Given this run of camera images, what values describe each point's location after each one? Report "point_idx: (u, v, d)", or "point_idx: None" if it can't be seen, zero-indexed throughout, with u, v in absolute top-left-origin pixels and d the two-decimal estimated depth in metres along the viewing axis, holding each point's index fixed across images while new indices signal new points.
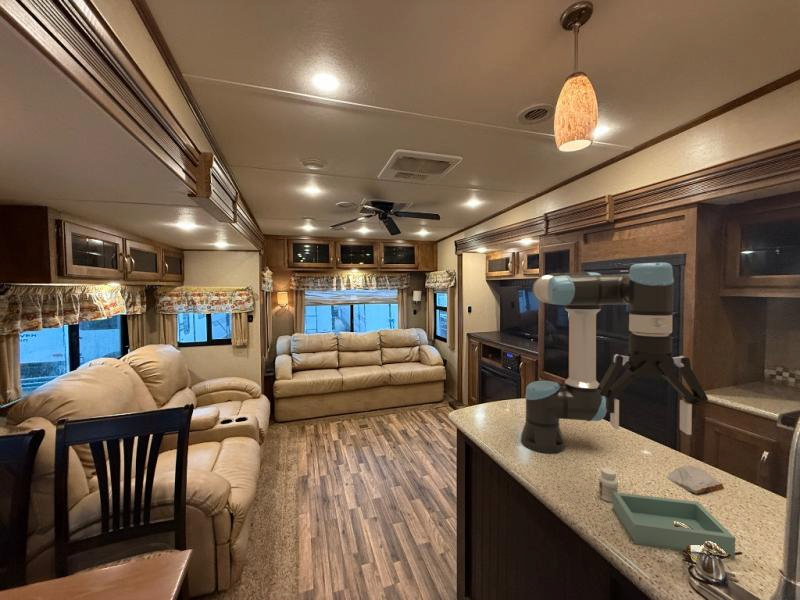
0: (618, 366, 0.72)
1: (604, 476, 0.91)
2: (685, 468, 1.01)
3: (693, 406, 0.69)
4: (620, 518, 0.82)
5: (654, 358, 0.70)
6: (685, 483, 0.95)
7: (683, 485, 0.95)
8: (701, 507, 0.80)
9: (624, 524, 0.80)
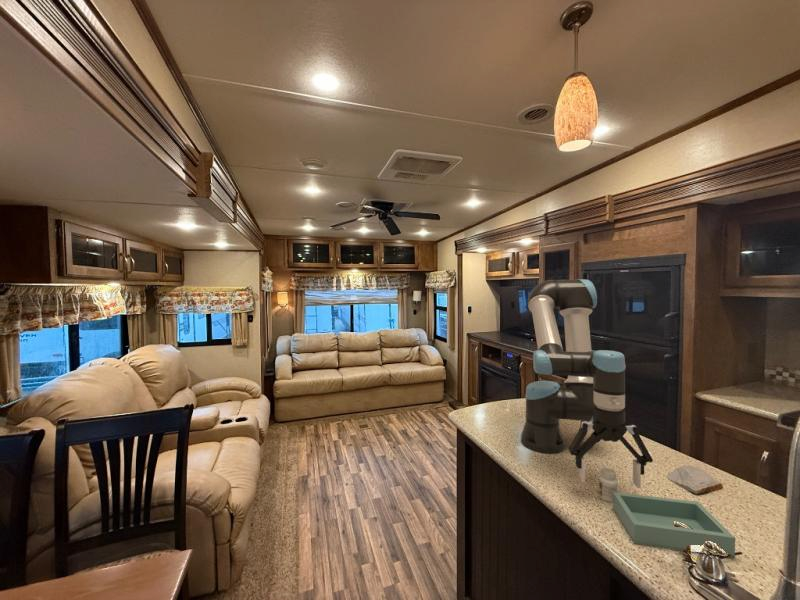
0: (584, 432, 0.91)
1: (604, 476, 0.91)
2: (684, 468, 1.01)
3: (642, 465, 0.88)
4: (620, 518, 0.82)
5: (611, 427, 0.90)
6: (685, 483, 0.95)
7: (683, 485, 0.95)
8: (701, 507, 0.80)
9: (624, 524, 0.80)
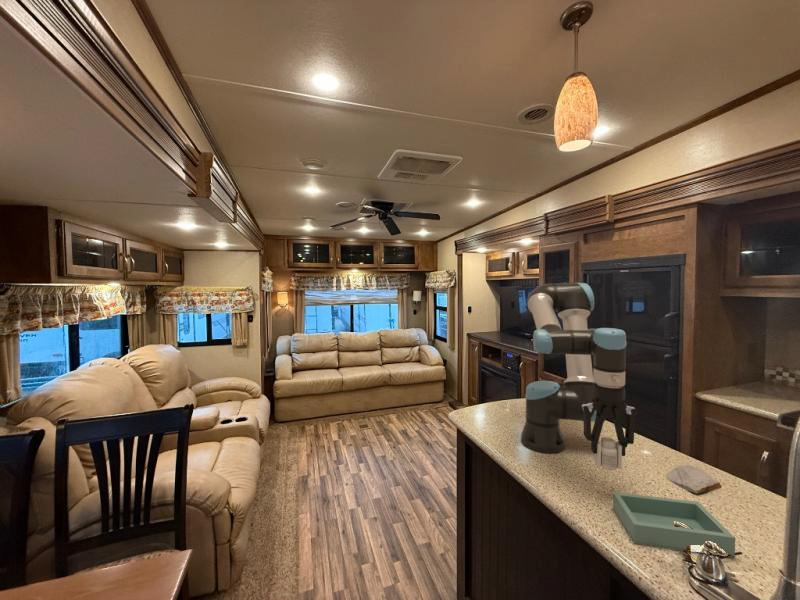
0: (588, 414, 0.91)
1: (603, 445, 0.91)
2: (683, 468, 1.01)
3: (623, 447, 0.90)
4: (620, 518, 0.82)
5: (611, 404, 0.90)
6: (685, 483, 0.95)
7: (683, 485, 0.95)
8: (701, 507, 0.80)
9: (624, 524, 0.80)
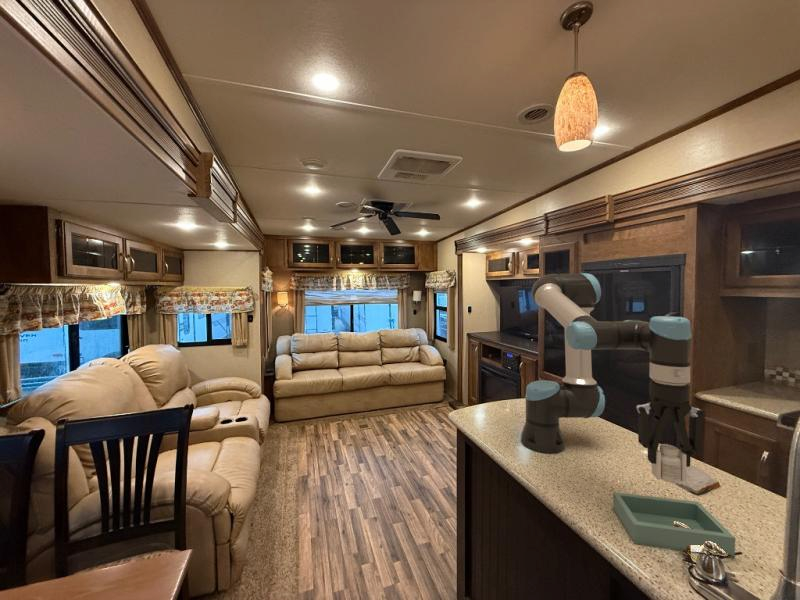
0: (645, 417, 0.78)
1: (664, 453, 0.77)
2: None
3: (688, 456, 0.77)
4: (620, 518, 0.82)
5: (673, 404, 0.77)
6: (685, 483, 0.95)
7: (683, 485, 0.95)
8: (701, 507, 0.80)
9: (624, 524, 0.80)
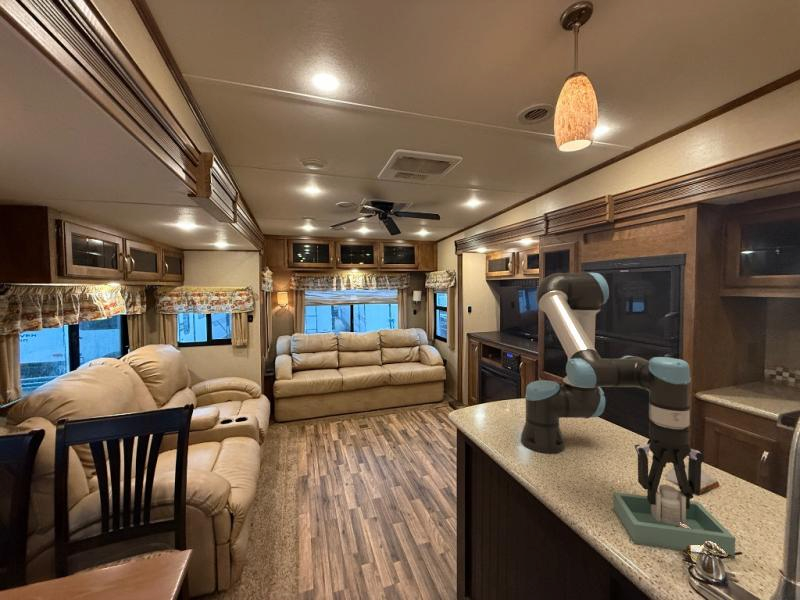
0: (644, 458, 0.78)
1: (663, 494, 0.78)
2: None
3: (687, 498, 0.77)
4: (620, 518, 0.82)
5: (673, 446, 0.77)
6: None
7: None
8: (701, 507, 0.80)
9: (624, 524, 0.80)
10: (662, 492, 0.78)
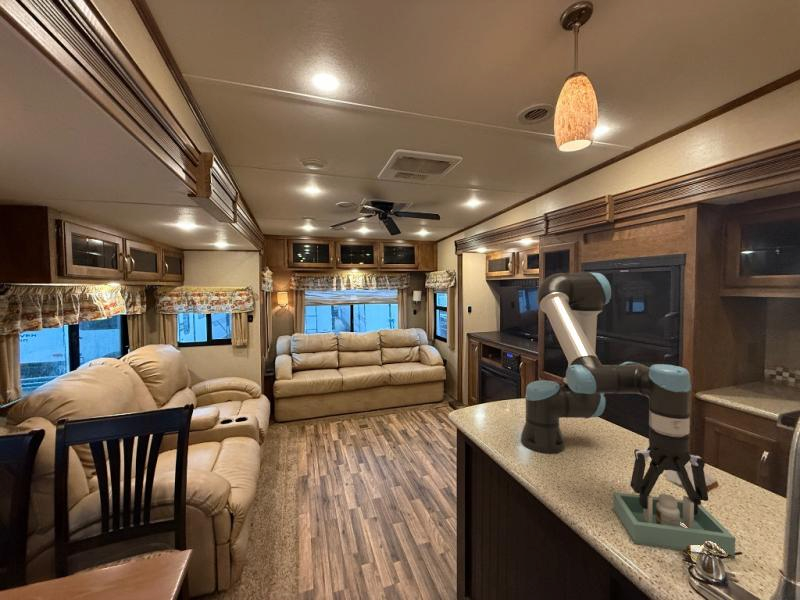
0: (642, 463, 0.78)
1: (663, 504, 0.78)
2: None
3: (695, 504, 0.77)
4: (620, 518, 0.82)
5: (672, 454, 0.77)
6: None
7: None
8: (701, 507, 0.80)
9: (624, 524, 0.80)
10: (662, 501, 0.78)
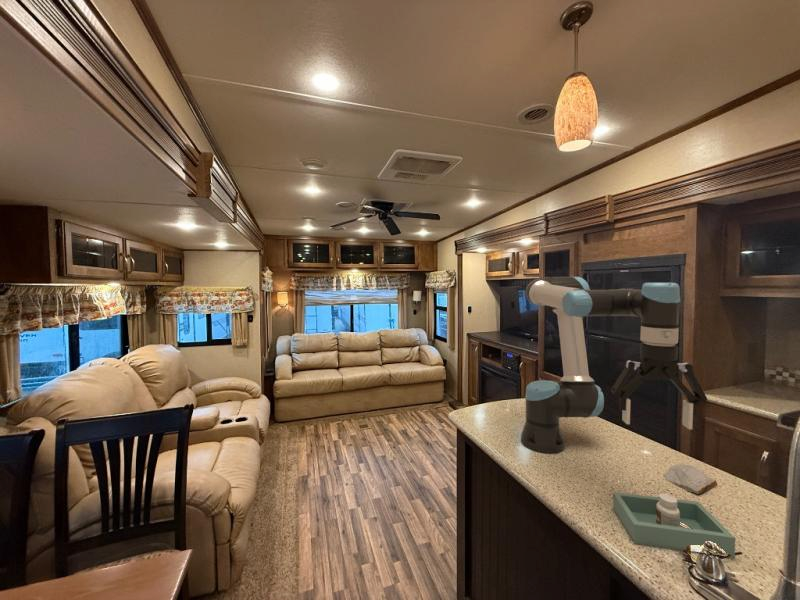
0: (630, 371, 0.83)
1: (663, 504, 0.78)
2: (679, 467, 1.01)
3: (694, 405, 0.81)
4: (620, 518, 0.82)
5: (662, 364, 0.82)
6: (685, 484, 0.95)
7: (683, 486, 0.95)
8: (701, 507, 0.80)
9: (624, 524, 0.80)
10: (662, 501, 0.78)
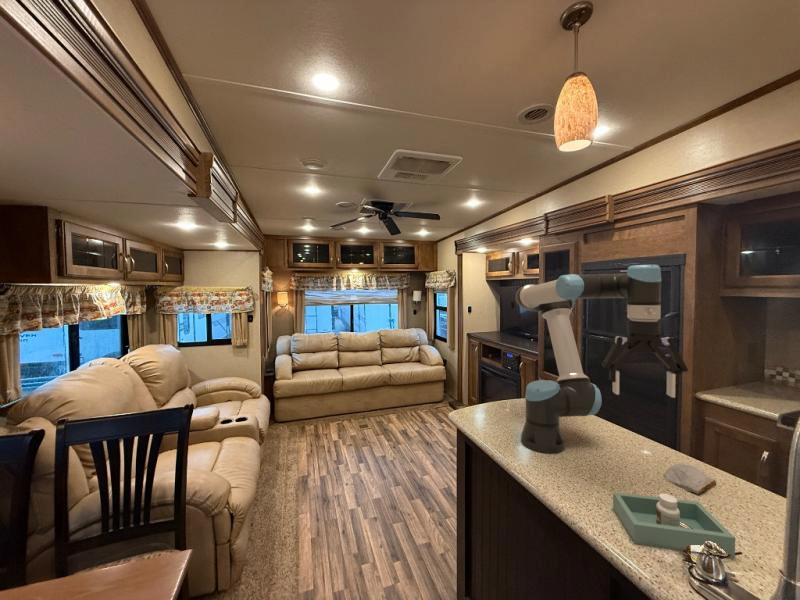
0: (618, 345, 0.92)
1: (663, 504, 0.78)
2: (679, 467, 1.01)
3: (676, 375, 0.89)
4: (620, 518, 0.82)
5: (646, 338, 0.90)
6: (685, 483, 0.95)
7: (683, 486, 0.95)
8: (701, 507, 0.80)
9: (624, 524, 0.80)
10: (662, 501, 0.78)
